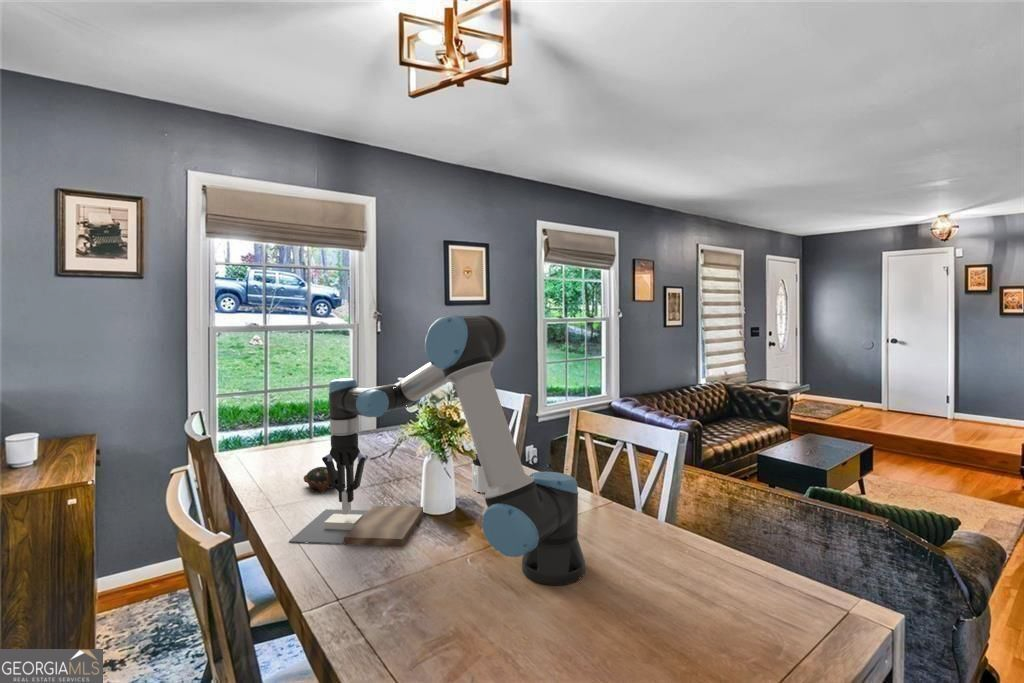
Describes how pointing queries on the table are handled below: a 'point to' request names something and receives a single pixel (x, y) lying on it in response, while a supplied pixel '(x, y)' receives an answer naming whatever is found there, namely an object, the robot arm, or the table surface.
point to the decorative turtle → (318, 479)
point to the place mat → (320, 535)
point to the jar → (478, 477)
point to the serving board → (385, 526)
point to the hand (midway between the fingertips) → (346, 512)
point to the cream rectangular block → (342, 521)
